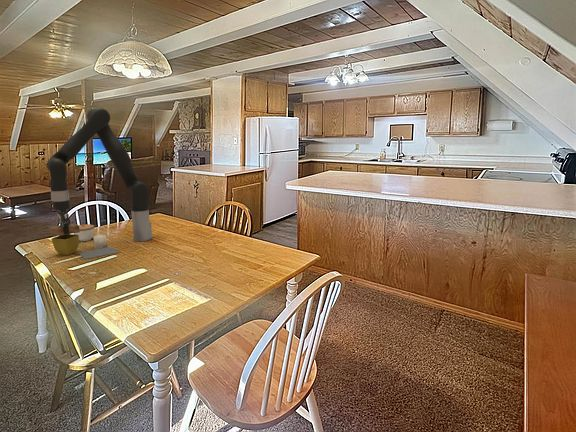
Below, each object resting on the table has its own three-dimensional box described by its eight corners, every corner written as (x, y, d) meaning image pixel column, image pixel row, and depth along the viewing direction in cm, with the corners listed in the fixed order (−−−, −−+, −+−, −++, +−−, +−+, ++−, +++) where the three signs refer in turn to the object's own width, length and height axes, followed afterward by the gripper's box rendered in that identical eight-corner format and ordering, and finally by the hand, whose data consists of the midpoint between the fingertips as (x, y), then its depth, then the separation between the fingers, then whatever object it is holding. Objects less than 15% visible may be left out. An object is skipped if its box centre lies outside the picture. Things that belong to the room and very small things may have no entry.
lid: (76, 229, 191) (75, 223, 190) (79, 232, 187) (79, 225, 186) (49, 234, 183) (48, 227, 182) (52, 236, 179) (51, 229, 178)
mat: (111, 247, 198) (111, 246, 198) (119, 252, 189) (119, 252, 189) (78, 253, 187) (78, 252, 187) (85, 259, 178) (84, 258, 178)
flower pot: (68, 257, 182) (66, 239, 180) (53, 255, 184) (50, 238, 182) (81, 251, 190) (79, 234, 188) (66, 250, 192) (64, 233, 190)
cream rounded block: (105, 244, 203) (103, 233, 201) (108, 246, 198) (107, 236, 197) (93, 246, 199) (92, 235, 197) (96, 249, 194) (95, 238, 193)
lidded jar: (89, 236, 218) (87, 220, 215) (99, 239, 211) (97, 223, 209) (70, 240, 209) (68, 224, 207) (79, 243, 203) (77, 227, 201)
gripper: (72, 200, 178) (77, 234, 182) (65, 196, 189) (69, 228, 193) (55, 202, 173) (59, 236, 177) (48, 198, 184) (53, 230, 188)
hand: (65, 232), depth 185 cm, fingers closed on lid, 6 cm apart
